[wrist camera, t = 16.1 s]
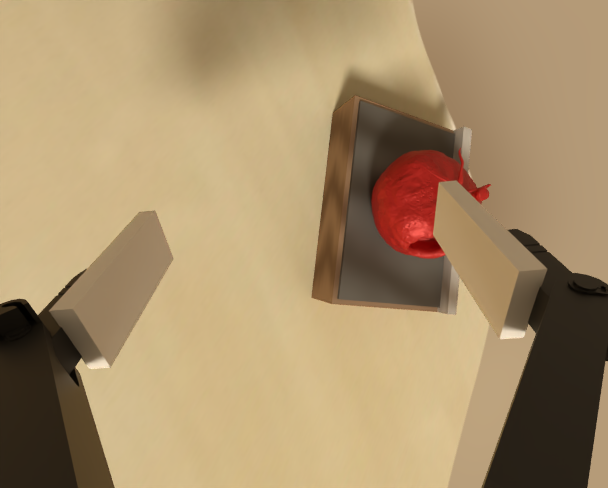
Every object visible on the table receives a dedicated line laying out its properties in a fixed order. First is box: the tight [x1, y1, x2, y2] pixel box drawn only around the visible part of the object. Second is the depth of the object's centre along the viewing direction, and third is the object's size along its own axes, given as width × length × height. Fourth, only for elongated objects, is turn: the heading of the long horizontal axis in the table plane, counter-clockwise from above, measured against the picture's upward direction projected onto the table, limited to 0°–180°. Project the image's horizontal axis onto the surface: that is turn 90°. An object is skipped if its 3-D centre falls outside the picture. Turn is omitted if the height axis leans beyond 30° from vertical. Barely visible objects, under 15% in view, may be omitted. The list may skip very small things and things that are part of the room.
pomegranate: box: [371, 148, 490, 259], centre depth 29 cm, size 10×10×9 cm
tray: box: [312, 95, 472, 315], centre depth 36 cm, size 20×14×6 cm
